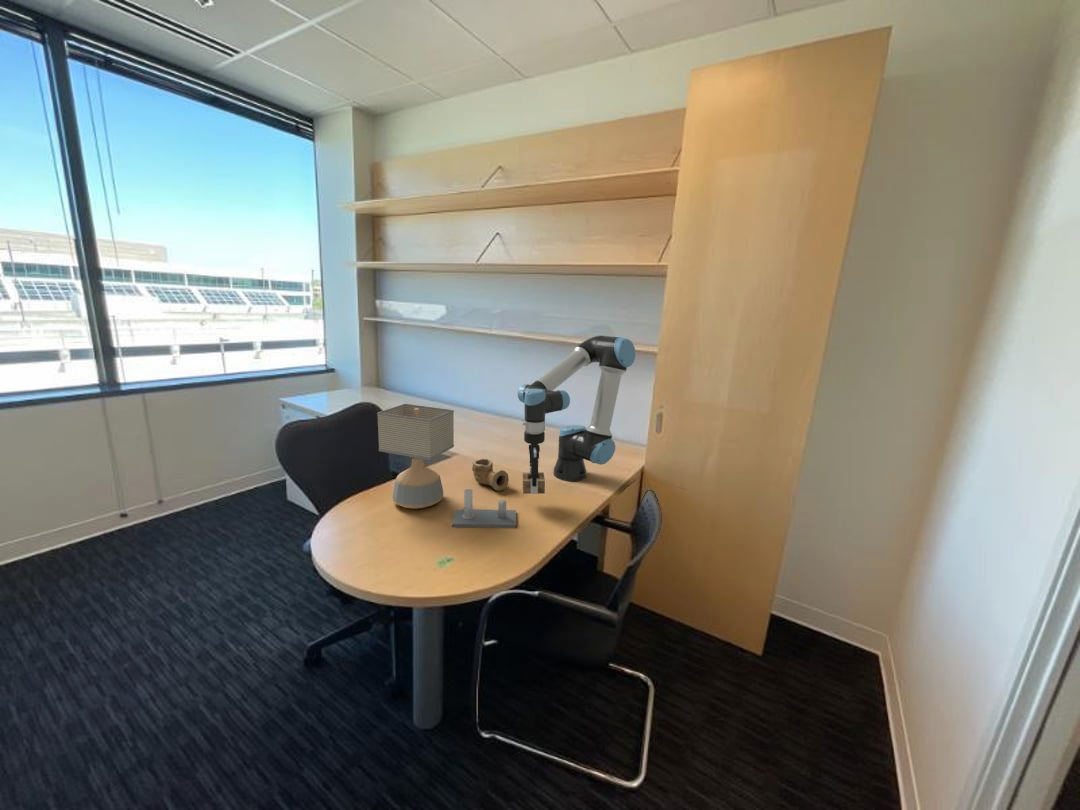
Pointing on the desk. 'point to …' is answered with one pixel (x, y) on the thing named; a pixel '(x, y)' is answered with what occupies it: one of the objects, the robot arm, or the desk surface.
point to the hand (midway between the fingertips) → (533, 488)
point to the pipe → (489, 474)
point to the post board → (483, 515)
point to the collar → (528, 481)
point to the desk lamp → (416, 449)
